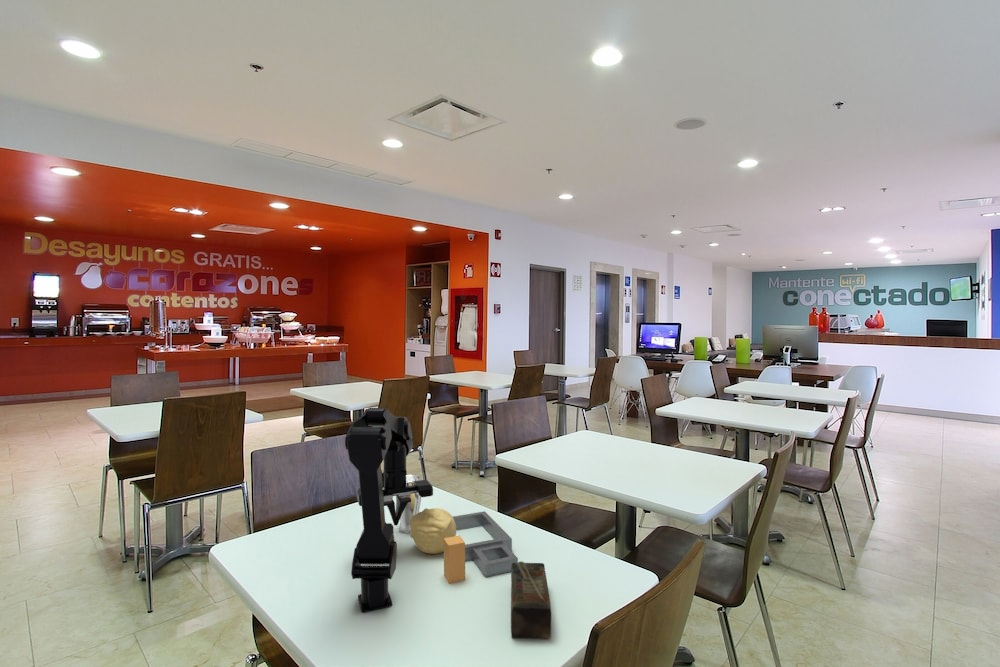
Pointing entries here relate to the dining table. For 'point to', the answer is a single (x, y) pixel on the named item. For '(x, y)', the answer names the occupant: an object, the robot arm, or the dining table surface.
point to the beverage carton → (530, 601)
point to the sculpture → (432, 529)
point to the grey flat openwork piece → (488, 545)
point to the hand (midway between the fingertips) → (395, 524)
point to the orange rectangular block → (454, 559)
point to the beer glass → (410, 506)
